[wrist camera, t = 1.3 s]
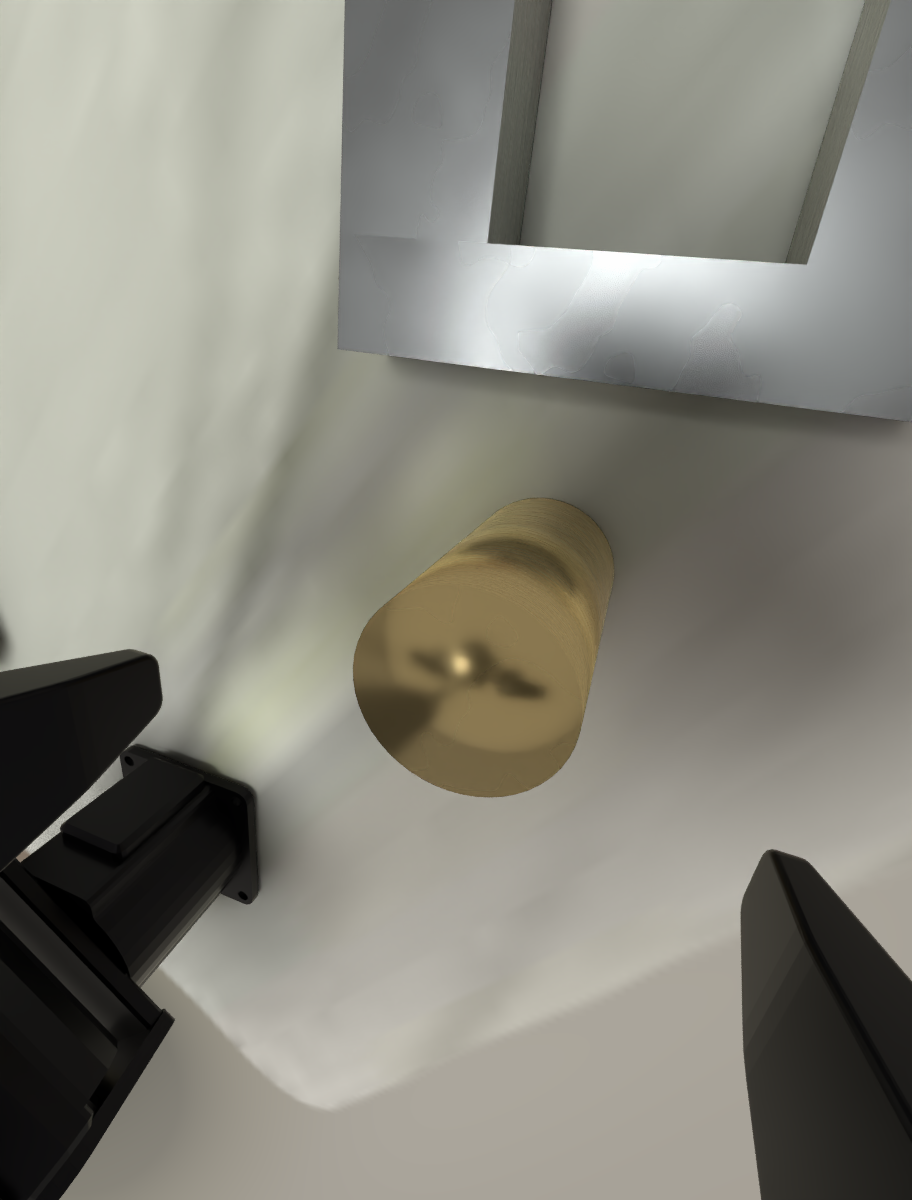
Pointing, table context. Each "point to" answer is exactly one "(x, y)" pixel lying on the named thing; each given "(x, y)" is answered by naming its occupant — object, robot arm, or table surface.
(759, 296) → the metal square frame
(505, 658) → the tan rectangular block
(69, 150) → the table surface
